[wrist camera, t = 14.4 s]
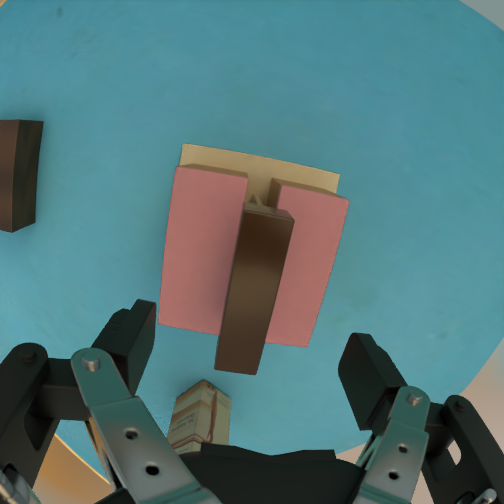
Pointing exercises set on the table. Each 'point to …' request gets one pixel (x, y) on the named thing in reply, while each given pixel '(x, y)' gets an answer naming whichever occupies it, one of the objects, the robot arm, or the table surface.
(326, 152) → the table surface
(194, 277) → the pink slotted holder
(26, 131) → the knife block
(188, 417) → the cosmetic box
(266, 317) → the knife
